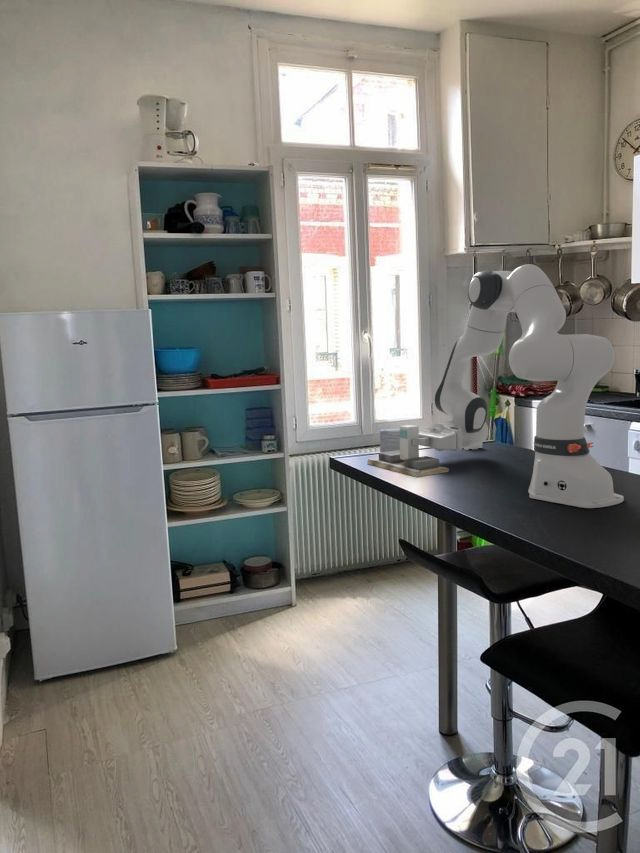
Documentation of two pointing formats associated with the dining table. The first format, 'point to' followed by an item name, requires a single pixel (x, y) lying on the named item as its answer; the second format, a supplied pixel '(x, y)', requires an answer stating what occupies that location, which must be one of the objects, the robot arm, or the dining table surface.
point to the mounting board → (423, 472)
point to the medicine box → (389, 440)
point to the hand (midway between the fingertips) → (406, 441)
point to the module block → (408, 442)
